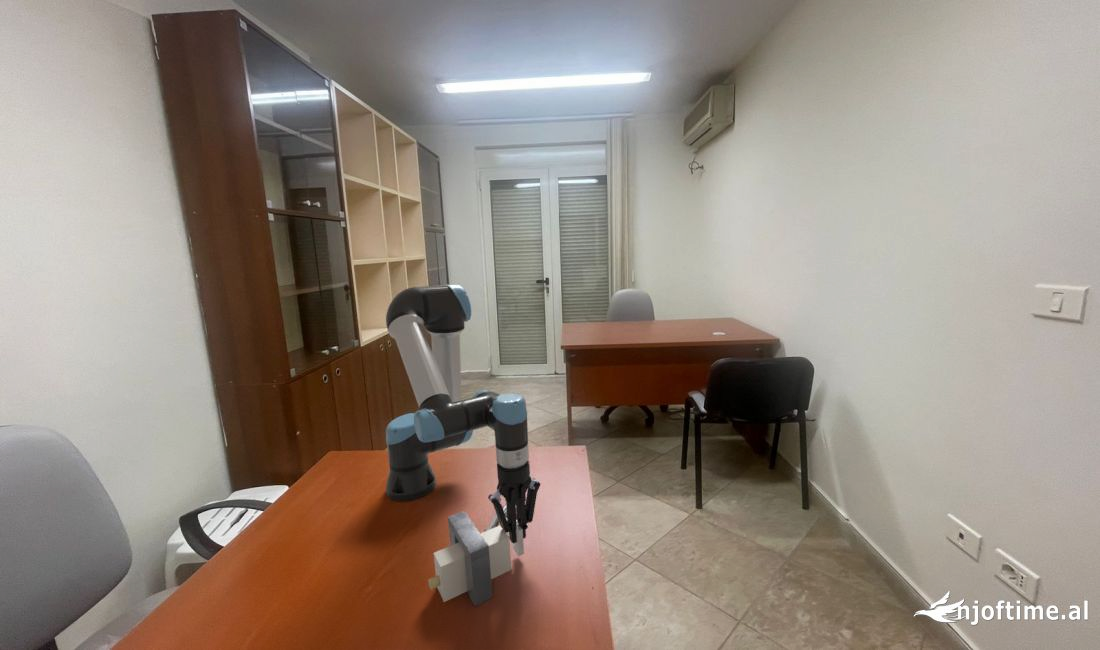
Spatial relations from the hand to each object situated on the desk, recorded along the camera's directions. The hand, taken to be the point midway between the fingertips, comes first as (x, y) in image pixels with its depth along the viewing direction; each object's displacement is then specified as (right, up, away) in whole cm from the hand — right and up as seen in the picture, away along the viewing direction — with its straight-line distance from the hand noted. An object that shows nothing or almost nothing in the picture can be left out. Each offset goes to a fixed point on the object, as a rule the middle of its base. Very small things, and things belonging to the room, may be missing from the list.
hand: (518, 551), depth 99 cm
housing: (-10, -3, -6) cm, 12 cm away
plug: (-10, -3, -6) cm, 11 cm away
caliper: (-7, -1, +11) cm, 13 cm away
